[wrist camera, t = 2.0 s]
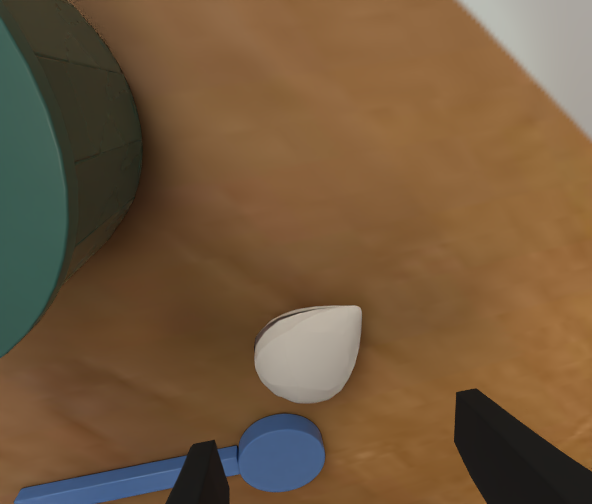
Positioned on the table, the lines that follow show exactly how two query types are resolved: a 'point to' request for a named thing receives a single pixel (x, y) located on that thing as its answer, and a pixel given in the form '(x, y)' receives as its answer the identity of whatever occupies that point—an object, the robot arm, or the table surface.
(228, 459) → the blue spoon
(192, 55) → the table surface
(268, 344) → the cream teardrop shape
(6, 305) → the saucepan lid
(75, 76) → the saucepan
